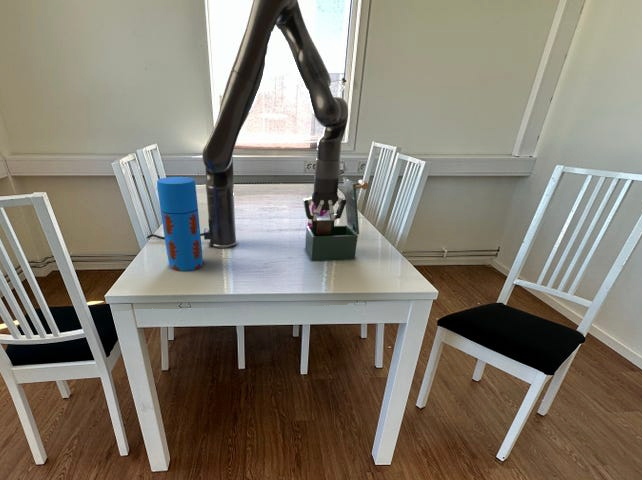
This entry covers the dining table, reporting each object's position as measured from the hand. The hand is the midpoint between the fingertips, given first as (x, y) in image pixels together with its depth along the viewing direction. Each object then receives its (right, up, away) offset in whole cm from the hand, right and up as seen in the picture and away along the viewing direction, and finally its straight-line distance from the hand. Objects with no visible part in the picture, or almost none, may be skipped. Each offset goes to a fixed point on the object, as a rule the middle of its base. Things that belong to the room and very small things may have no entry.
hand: (322, 231), depth 130 cm
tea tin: (+3, -6, +5) cm, 8 cm away
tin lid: (+8, +7, -4) cm, 12 cm away
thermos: (-44, -12, -4) cm, 46 cm away
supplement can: (+1, +5, +21) cm, 21 cm away
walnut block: (0, 0, 0) cm, 0 cm away
